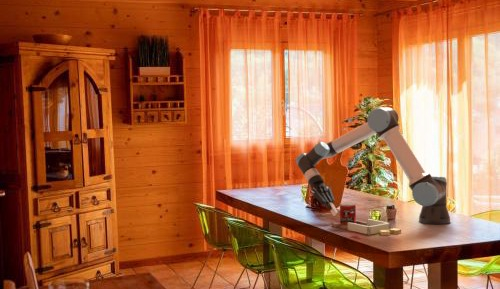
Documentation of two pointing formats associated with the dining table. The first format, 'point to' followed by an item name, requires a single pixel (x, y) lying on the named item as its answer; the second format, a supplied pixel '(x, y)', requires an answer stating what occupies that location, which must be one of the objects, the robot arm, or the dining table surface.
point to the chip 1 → (384, 232)
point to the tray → (369, 227)
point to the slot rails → (347, 226)
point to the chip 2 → (395, 231)
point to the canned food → (347, 213)
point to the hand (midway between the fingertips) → (335, 214)
